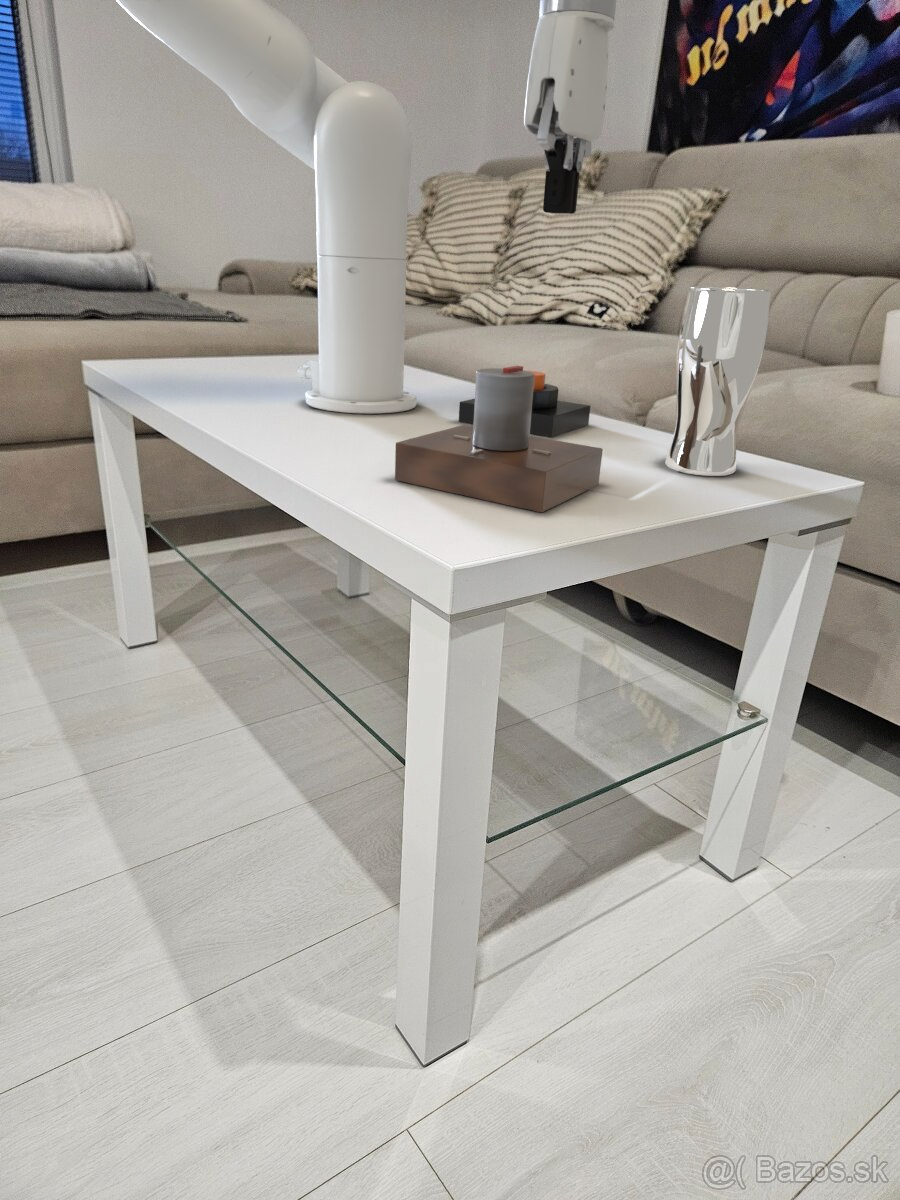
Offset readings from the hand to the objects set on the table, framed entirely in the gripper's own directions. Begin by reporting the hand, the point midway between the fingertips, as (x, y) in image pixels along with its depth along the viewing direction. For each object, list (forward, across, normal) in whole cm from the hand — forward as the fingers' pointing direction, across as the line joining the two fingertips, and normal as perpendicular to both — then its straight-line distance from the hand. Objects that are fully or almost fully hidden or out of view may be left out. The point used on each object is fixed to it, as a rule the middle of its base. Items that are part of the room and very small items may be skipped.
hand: (559, 212), depth 89 cm
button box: (+21, +10, +3) cm, 24 cm away
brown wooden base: (+21, +33, +13) cm, 41 cm away
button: (+17, +10, +3) cm, 20 cm away
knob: (+18, +33, +13) cm, 40 cm away
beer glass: (+21, +16, +24) cm, 36 cm away
